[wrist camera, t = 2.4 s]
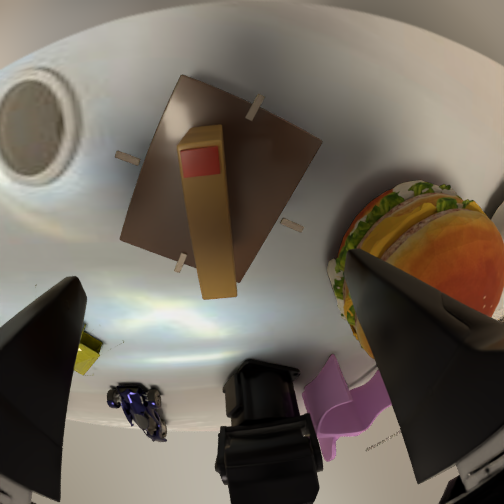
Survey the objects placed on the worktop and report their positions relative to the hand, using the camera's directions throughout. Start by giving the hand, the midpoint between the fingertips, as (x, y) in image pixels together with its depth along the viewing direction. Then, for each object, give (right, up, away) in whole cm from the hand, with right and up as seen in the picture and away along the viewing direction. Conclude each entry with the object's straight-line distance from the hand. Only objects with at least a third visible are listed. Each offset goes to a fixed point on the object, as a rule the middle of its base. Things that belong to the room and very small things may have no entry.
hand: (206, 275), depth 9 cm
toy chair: (+14, -12, +18) cm, 26 cm away
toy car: (-12, -19, +23) cm, 32 cm away
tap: (-1, +4, +6) cm, 7 cm away
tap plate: (-1, +6, +9) cm, 10 cm away
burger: (+13, +1, +13) cm, 19 cm away
